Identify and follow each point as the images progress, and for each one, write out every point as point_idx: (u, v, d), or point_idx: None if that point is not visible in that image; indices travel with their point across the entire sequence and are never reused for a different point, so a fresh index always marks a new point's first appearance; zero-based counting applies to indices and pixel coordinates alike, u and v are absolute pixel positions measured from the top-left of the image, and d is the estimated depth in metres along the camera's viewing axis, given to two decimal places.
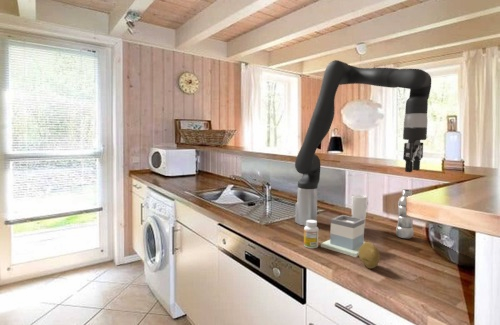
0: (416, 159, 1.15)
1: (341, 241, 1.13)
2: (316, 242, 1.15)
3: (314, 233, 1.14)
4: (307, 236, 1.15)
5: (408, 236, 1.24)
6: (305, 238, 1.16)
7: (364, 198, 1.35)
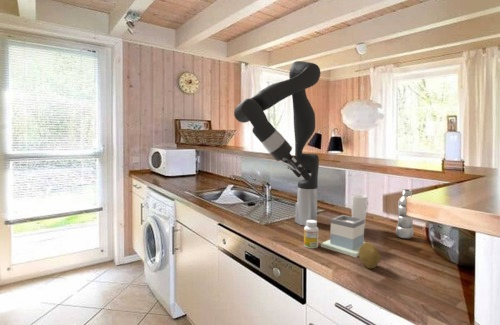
0: None
1: (341, 241, 1.13)
2: (316, 242, 1.15)
3: (314, 233, 1.14)
4: (307, 236, 1.15)
5: (408, 236, 1.24)
6: (305, 238, 1.16)
7: (364, 198, 1.35)
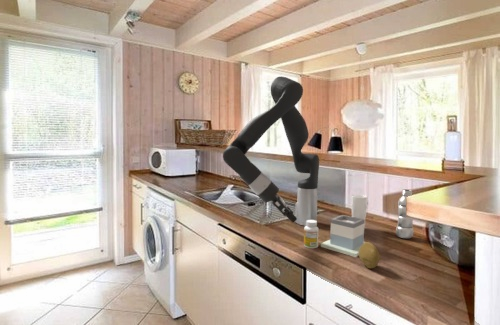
0: None
1: (341, 241, 1.13)
2: (316, 242, 1.15)
3: (314, 233, 1.14)
4: (307, 236, 1.15)
5: (408, 236, 1.24)
6: (305, 238, 1.16)
7: (364, 198, 1.35)
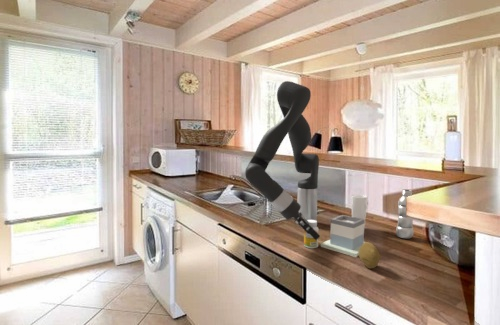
0: None
1: (341, 241, 1.13)
2: (316, 242, 1.15)
3: None
4: (307, 236, 1.15)
5: (408, 236, 1.24)
6: (305, 238, 1.16)
7: (364, 198, 1.35)
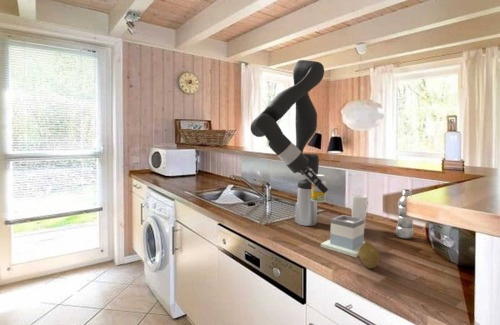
0: None
1: (341, 241, 1.13)
2: (324, 196, 1.13)
3: None
4: (315, 189, 1.13)
5: (408, 236, 1.24)
6: (313, 192, 1.14)
7: (364, 198, 1.35)
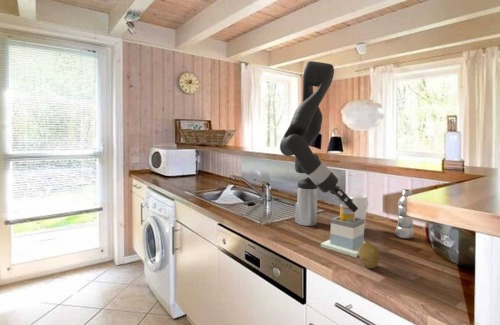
0: None
1: (341, 241, 1.13)
2: (353, 218, 1.13)
3: None
4: (344, 212, 1.13)
5: (408, 236, 1.24)
6: (342, 215, 1.14)
7: (364, 198, 1.35)
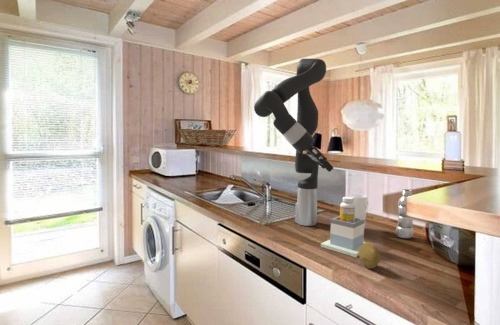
0: None
1: (341, 241, 1.13)
2: (353, 219, 1.13)
3: (352, 209, 1.13)
4: (344, 212, 1.13)
5: (408, 236, 1.24)
6: (342, 215, 1.14)
7: (364, 198, 1.35)
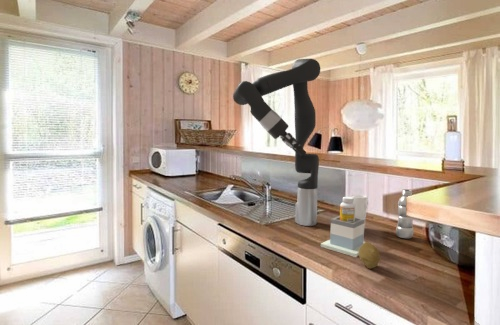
0: None
1: (341, 241, 1.13)
2: (353, 219, 1.13)
3: (352, 209, 1.13)
4: (344, 212, 1.13)
5: (408, 236, 1.24)
6: (342, 215, 1.14)
7: (364, 198, 1.35)
